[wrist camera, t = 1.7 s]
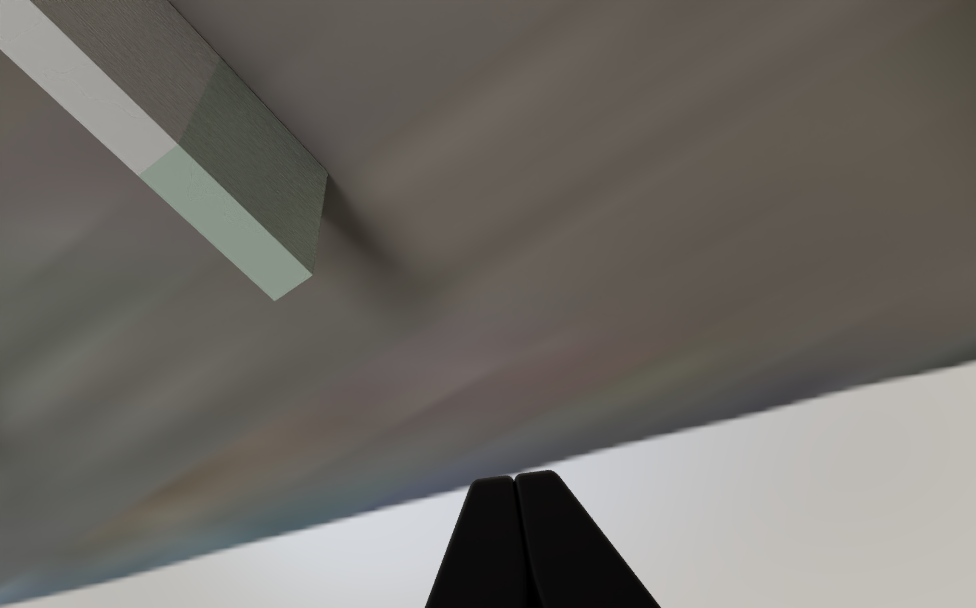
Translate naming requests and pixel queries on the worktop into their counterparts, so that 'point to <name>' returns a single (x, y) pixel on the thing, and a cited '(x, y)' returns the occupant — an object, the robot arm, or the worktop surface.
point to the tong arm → (178, 125)
